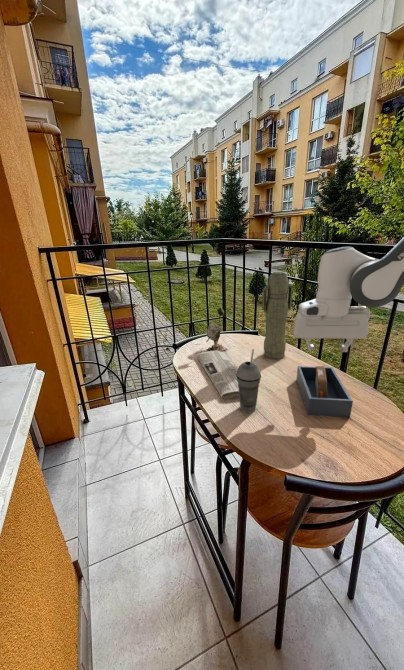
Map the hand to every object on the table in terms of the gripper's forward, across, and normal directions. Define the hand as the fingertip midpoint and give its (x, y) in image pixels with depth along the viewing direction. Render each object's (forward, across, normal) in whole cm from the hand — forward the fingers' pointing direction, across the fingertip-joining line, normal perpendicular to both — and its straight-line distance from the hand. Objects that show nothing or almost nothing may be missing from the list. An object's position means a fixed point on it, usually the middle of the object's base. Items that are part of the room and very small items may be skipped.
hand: (327, 351), depth 85 cm
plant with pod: (+15, +39, -36) cm, 55 cm away
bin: (+16, +1, 0) cm, 16 cm away
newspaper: (+16, +33, -13) cm, 39 cm away
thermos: (+16, +13, -31) cm, 37 cm away
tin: (+16, +1, 0) cm, 16 cm away
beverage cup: (+16, +24, +9) cm, 30 cm away
